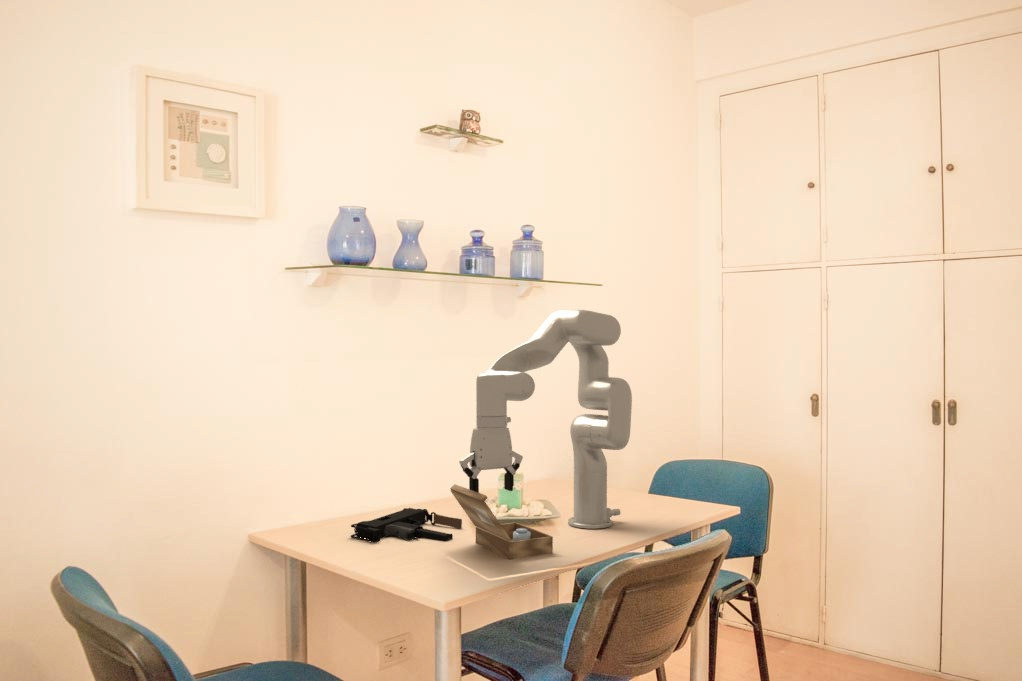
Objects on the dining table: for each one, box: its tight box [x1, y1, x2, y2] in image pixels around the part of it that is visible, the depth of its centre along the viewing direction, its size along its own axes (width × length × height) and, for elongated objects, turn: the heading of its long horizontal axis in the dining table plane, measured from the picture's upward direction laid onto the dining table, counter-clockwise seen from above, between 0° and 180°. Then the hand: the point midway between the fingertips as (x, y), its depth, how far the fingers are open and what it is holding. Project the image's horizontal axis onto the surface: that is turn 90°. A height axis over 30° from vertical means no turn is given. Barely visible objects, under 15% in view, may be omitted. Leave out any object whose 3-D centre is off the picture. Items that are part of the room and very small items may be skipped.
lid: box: [449, 483, 511, 541], centre depth 193 cm, size 13×18×2 cm
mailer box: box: [475, 521, 554, 560], centre depth 197 cm, size 12×18×4 cm, turn 30°
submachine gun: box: [350, 507, 463, 543], centre depth 215 cm, size 4×29×25 cm
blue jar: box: [513, 528, 531, 541], centre depth 199 cm, size 4×4×4 cm
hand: (491, 492), depth 194 cm, fingers open, 9 cm apart
